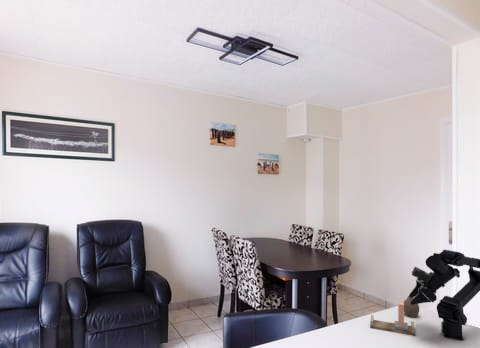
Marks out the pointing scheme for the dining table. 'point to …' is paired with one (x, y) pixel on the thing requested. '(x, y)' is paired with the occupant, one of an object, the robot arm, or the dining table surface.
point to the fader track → (391, 327)
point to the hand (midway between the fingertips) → (410, 300)
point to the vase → (410, 308)
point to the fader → (401, 318)
